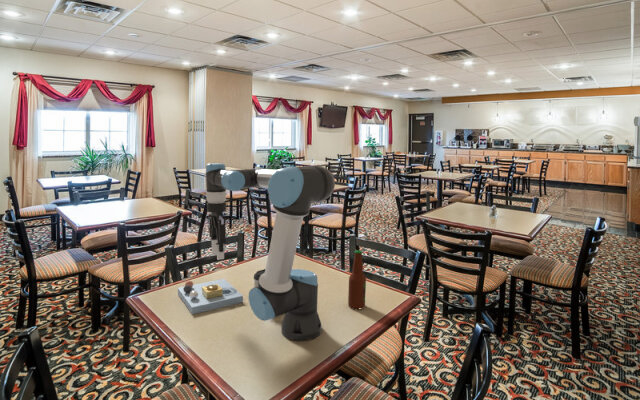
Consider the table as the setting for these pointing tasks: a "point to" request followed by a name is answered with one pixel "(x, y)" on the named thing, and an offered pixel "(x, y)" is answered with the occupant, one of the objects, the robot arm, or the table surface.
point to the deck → (204, 304)
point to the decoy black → (187, 289)
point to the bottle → (357, 283)
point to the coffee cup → (256, 277)
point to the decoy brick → (189, 283)
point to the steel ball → (193, 295)
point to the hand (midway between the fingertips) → (218, 256)
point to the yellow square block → (212, 291)
